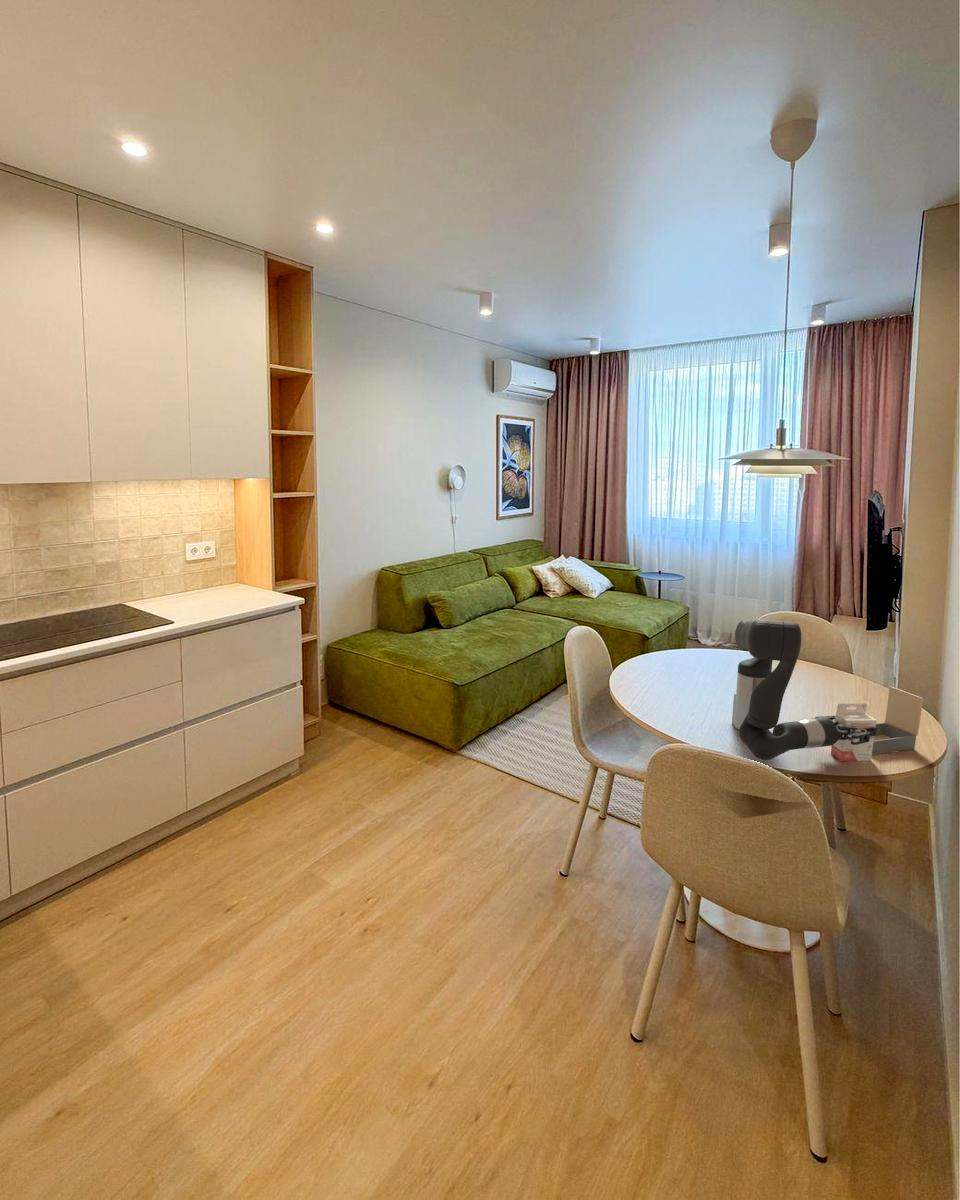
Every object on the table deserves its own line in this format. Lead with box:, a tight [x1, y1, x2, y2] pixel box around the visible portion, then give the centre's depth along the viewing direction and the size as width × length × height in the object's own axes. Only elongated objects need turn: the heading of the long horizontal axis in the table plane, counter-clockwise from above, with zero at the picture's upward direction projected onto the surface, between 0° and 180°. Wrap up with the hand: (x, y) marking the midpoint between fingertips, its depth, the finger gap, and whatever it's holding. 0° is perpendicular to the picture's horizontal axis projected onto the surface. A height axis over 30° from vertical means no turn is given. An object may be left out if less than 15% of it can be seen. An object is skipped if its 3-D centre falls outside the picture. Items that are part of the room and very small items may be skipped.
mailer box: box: [872, 686, 924, 756], centre depth 176 cm, size 10×15×15 cm
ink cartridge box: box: [830, 702, 877, 762], centre depth 168 cm, size 9×5×15 cm, turn 92°
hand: (864, 726), depth 168 cm, fingers open, 6 cm apart
